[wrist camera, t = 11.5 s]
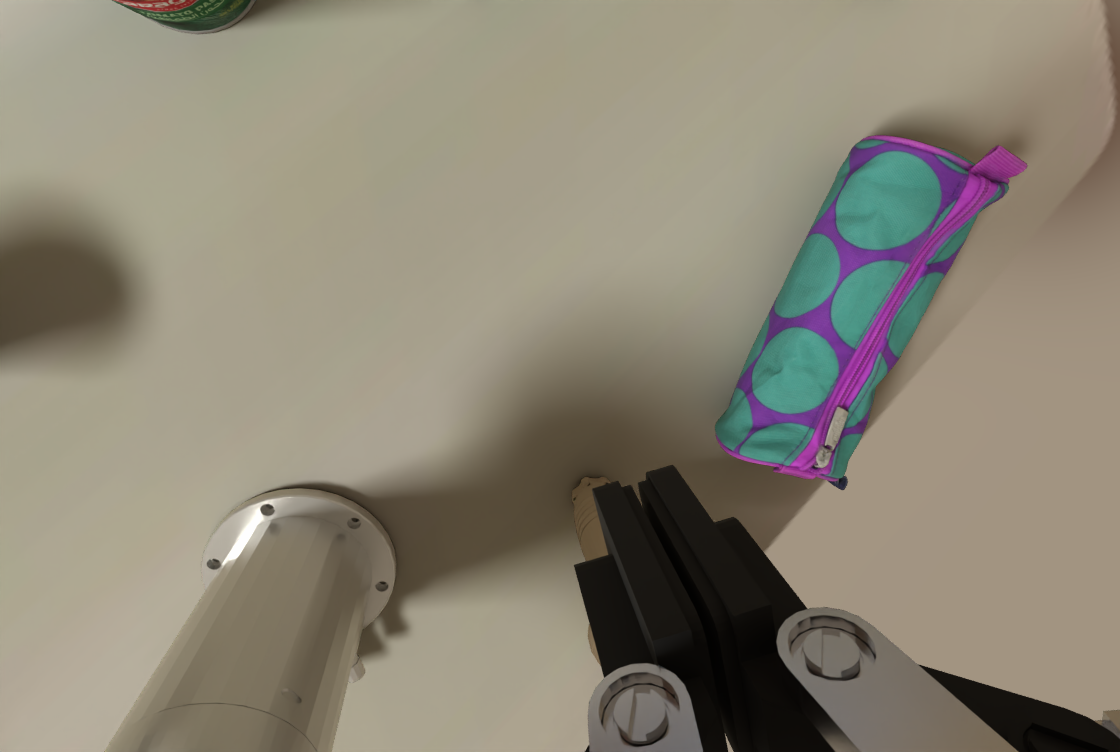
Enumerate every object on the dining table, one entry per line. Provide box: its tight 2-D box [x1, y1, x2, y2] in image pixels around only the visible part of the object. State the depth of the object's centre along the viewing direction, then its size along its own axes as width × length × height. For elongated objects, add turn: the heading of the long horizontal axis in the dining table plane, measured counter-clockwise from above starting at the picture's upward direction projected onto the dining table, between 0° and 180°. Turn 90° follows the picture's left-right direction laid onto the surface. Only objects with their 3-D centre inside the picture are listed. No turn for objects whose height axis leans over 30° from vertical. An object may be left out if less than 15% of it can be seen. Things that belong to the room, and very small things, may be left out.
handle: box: [572, 477, 611, 665], centre depth 35 cm, size 5×6×15 cm
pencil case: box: [715, 135, 1027, 490], centre depth 36 cm, size 21×9×10 cm, turn 160°
